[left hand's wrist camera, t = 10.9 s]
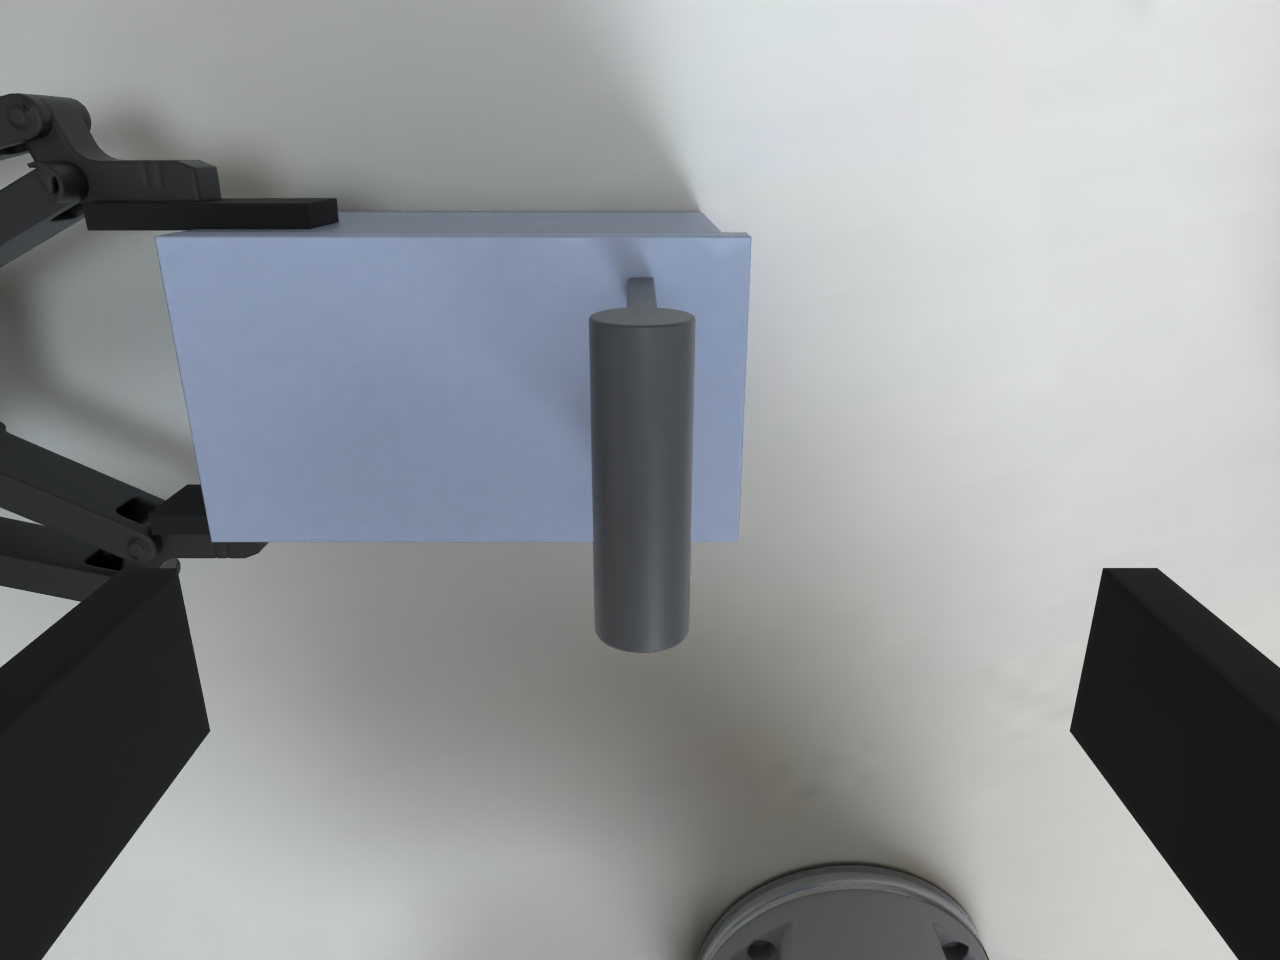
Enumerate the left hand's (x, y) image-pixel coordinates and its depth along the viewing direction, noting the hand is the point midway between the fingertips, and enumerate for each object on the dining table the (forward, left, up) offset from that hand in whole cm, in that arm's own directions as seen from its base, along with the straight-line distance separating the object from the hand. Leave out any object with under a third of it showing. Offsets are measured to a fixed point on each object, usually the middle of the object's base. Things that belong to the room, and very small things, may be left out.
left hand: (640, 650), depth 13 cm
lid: (+5, 0, -15) cm, 16 cm away
